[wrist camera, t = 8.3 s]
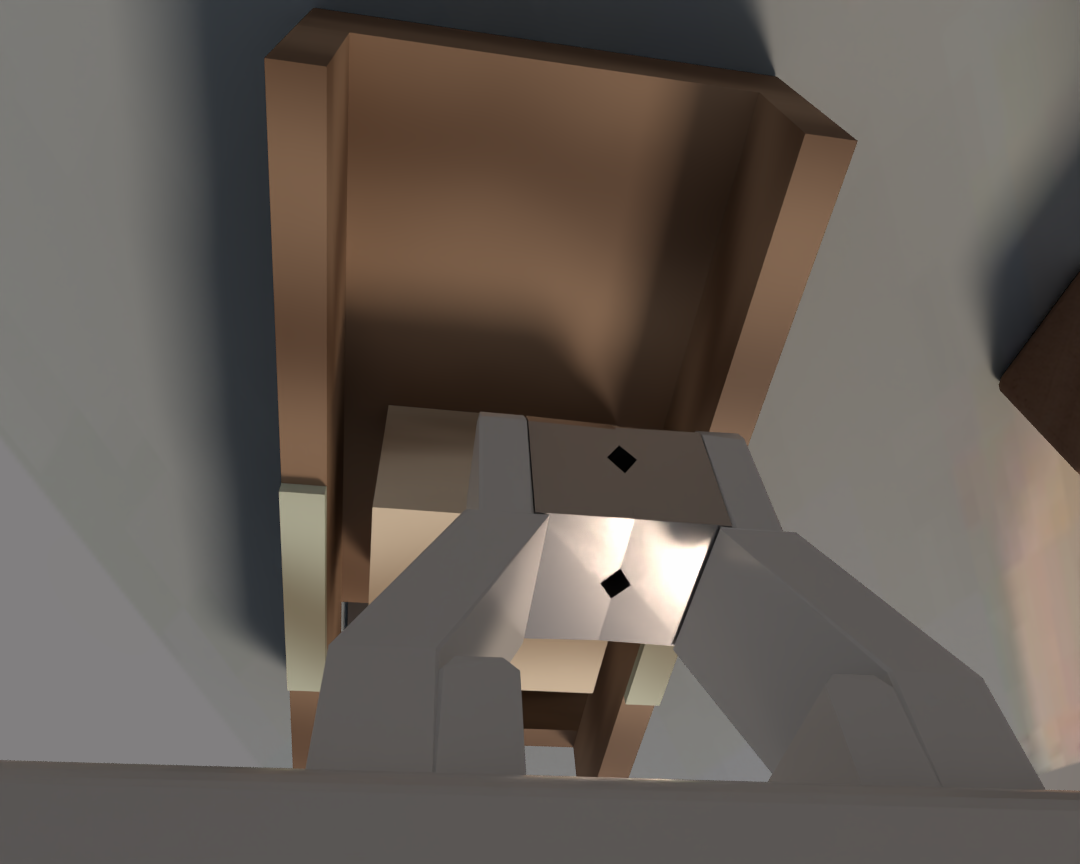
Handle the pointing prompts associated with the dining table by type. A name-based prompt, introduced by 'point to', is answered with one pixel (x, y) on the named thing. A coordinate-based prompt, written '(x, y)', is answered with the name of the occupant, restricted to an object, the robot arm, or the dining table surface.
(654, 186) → the walled channel
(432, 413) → the birch block
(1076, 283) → the wooden block
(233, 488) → the dining table surface
